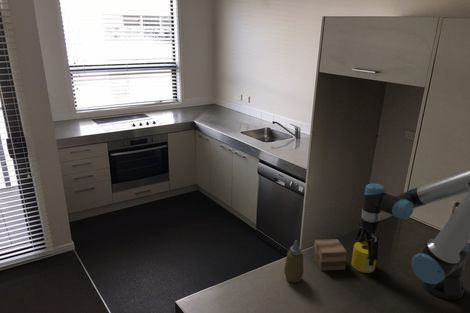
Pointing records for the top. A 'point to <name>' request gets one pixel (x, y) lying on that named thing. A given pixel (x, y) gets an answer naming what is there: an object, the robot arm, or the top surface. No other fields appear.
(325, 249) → the tower block top
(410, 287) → the top surface
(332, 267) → the tower block bottom
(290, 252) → the squeeze bottle
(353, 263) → the yellow toilet paper roll
